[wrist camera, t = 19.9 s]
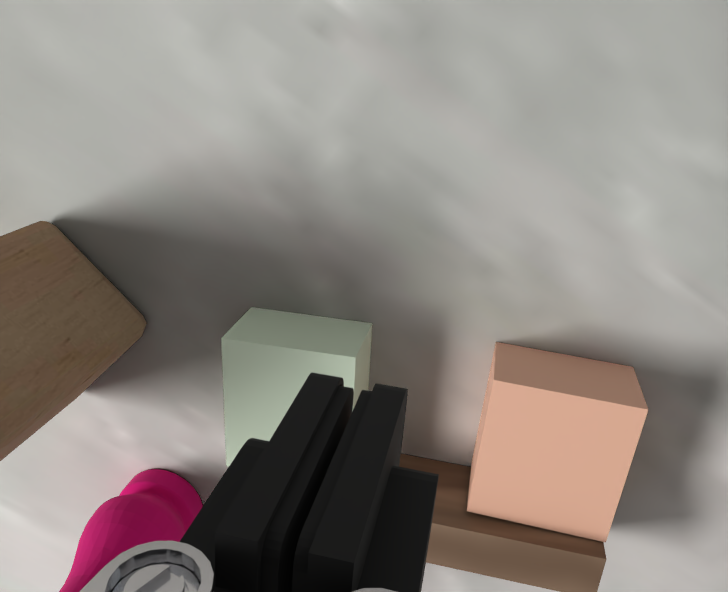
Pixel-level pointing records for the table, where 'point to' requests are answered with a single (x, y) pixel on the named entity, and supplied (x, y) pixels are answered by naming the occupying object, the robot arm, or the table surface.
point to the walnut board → (503, 540)
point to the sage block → (284, 367)
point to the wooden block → (53, 328)
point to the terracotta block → (555, 440)
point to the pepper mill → (134, 522)
